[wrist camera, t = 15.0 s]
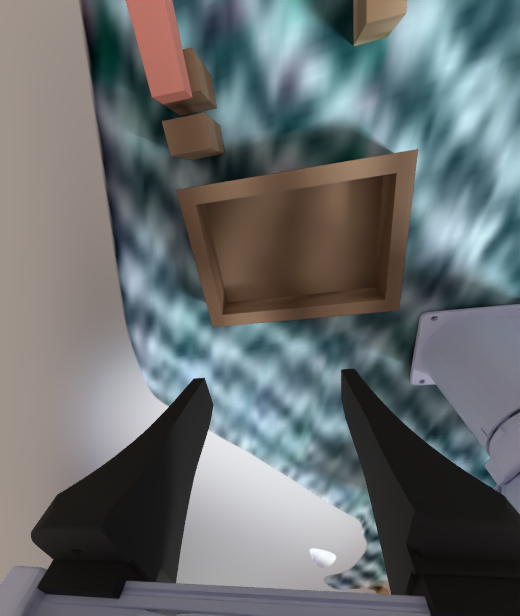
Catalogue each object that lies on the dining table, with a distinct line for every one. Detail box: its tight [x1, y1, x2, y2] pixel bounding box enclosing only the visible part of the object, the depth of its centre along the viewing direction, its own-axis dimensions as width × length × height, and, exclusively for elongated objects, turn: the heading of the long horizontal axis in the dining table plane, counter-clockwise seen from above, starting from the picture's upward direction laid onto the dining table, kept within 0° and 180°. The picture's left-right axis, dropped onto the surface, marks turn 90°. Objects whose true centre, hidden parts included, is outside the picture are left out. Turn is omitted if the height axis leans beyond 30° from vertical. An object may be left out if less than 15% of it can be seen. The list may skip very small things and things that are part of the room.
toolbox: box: [162, 48, 418, 327], centre depth 16 cm, size 14×16×4 cm
